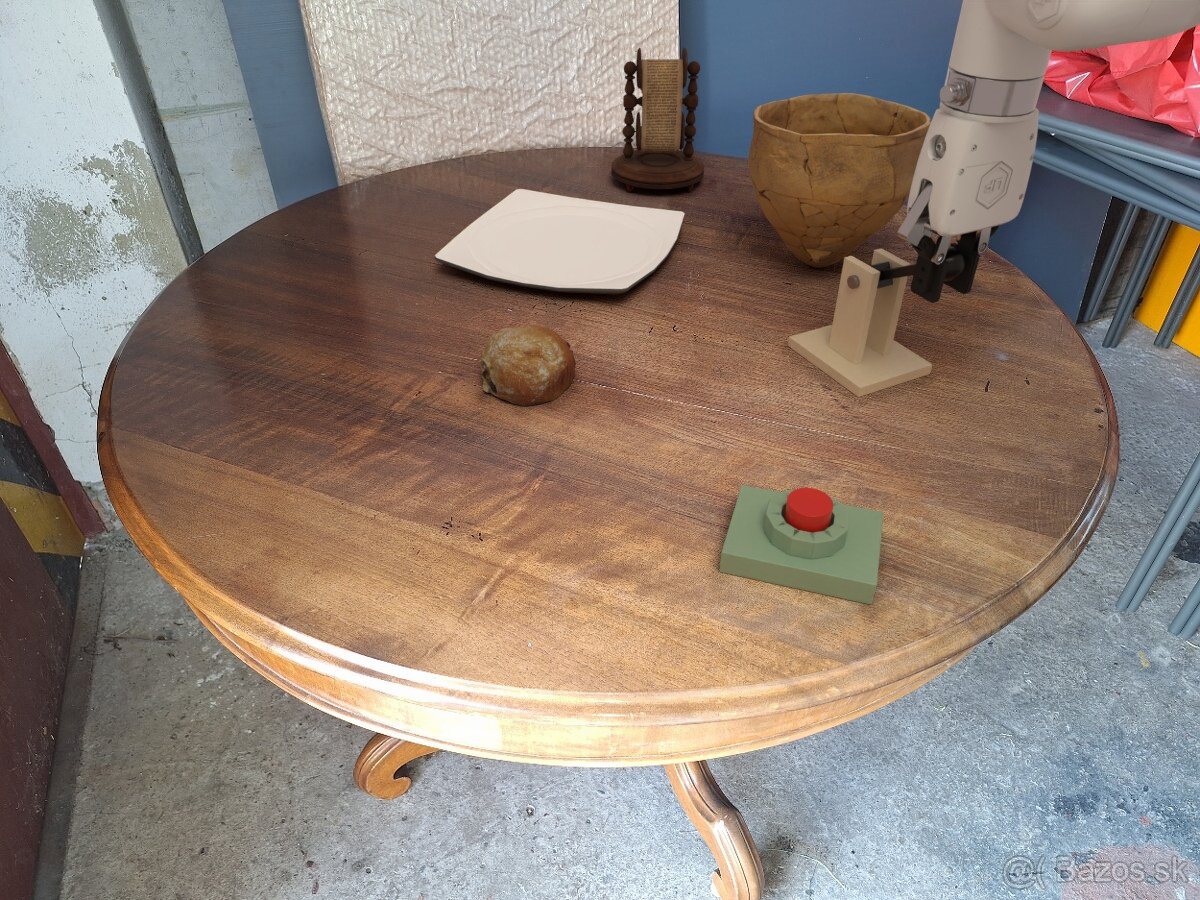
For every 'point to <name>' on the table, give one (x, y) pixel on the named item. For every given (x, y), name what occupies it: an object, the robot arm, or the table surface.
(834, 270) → the table surface
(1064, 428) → the table surface
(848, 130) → the bowl
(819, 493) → the button
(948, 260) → the black ball knob lever
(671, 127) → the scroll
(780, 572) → the button block
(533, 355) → the bread roll
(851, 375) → the lever bracket
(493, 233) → the plate
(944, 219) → the robot arm
